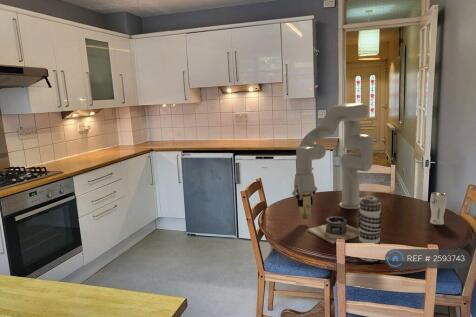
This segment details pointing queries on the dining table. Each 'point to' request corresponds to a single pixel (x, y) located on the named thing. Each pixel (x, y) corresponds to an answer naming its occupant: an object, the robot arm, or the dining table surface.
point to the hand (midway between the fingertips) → (305, 204)
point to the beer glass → (437, 207)
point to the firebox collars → (336, 225)
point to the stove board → (332, 238)
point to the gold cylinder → (306, 206)
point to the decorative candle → (369, 221)
